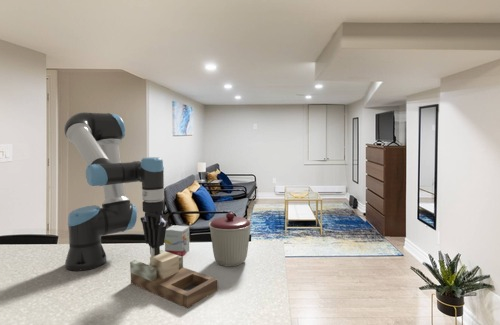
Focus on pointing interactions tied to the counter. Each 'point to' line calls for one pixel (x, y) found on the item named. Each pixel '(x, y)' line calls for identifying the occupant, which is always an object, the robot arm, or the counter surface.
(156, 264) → the birch block
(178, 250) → the ink box
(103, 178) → the robot arm
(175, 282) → the wooden compartment tray
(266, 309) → the counter surface
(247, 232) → the canister
